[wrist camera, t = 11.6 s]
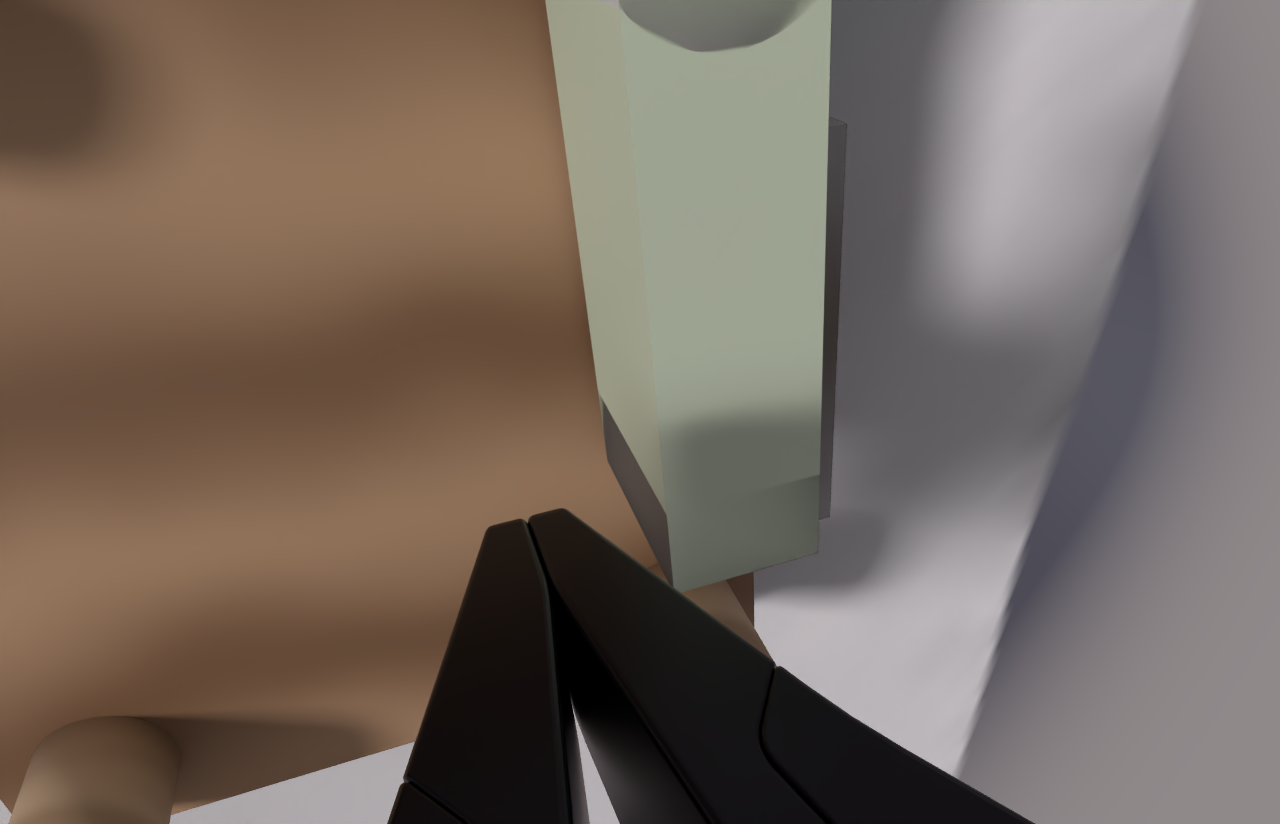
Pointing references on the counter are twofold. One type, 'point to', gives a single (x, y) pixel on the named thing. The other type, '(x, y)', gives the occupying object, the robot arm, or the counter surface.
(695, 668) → the robot arm
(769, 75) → the hinged leg
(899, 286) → the counter surface
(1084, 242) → the counter surface
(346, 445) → the stool seat
